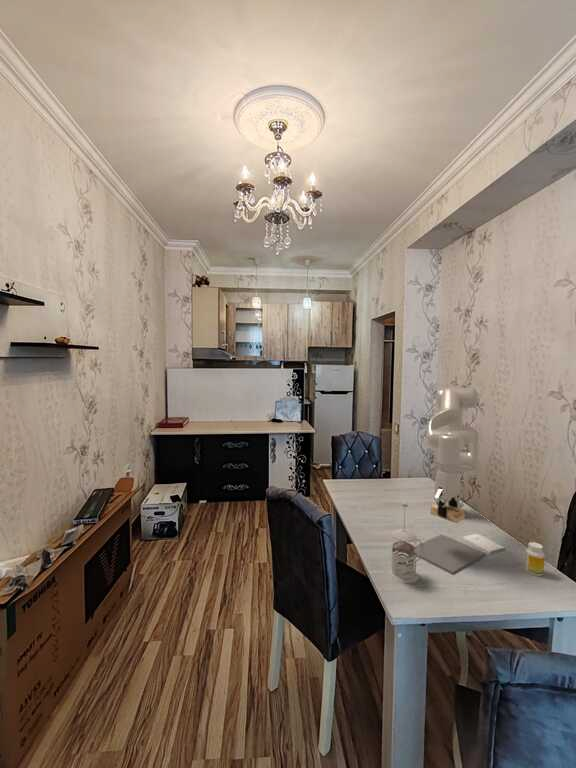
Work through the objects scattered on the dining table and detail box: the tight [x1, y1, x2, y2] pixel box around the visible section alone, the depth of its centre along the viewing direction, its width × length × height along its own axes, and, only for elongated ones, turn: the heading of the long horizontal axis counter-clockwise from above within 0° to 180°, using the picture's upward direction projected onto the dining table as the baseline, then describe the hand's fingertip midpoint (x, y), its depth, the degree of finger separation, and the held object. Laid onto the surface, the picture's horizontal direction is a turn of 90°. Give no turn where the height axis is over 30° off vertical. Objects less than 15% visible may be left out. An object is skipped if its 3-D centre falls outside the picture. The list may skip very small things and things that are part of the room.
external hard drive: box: [462, 533, 506, 555], centre depth 142 cm, size 2×8×12 cm
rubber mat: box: [414, 533, 487, 575], centre depth 135 cm, size 22×18×1 cm
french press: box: [388, 501, 424, 584], centre depth 121 cm, size 10×12×25 cm
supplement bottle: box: [524, 541, 546, 577], centre depth 123 cm, size 5×5×10 cm
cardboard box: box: [430, 502, 466, 524], centre depth 134 cm, size 10×6×3 cm, turn 38°
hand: (447, 514), depth 134 cm, fingers closed on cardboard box, 6 cm apart
